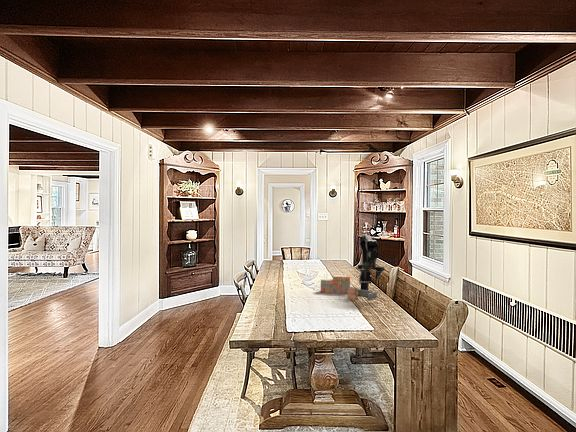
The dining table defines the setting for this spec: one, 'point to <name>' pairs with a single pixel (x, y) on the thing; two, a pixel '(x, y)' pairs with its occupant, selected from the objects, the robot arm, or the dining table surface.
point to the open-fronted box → (367, 294)
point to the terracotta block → (353, 293)
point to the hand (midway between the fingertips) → (370, 280)
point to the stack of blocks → (335, 284)
